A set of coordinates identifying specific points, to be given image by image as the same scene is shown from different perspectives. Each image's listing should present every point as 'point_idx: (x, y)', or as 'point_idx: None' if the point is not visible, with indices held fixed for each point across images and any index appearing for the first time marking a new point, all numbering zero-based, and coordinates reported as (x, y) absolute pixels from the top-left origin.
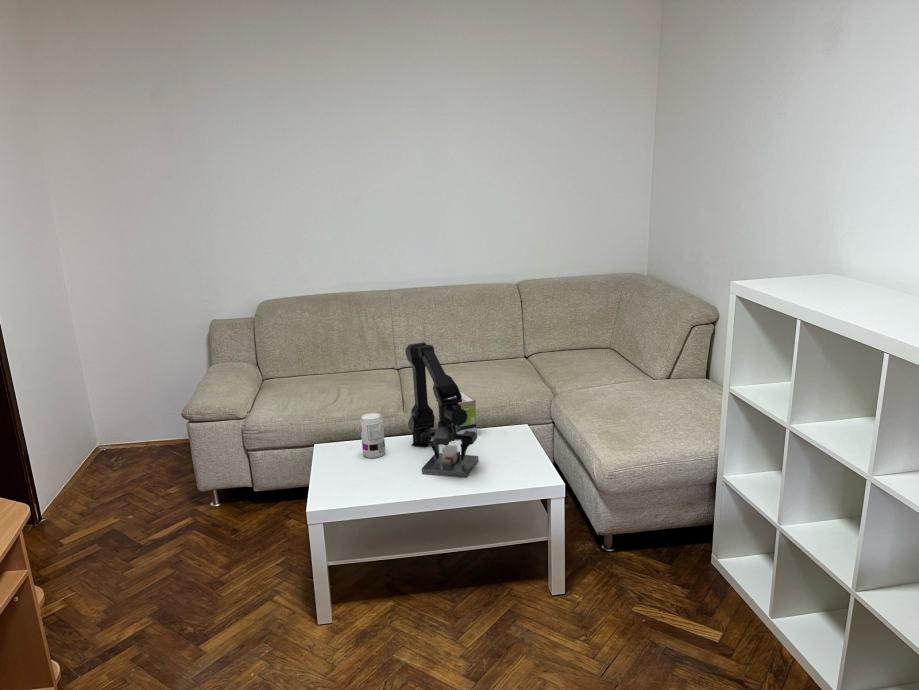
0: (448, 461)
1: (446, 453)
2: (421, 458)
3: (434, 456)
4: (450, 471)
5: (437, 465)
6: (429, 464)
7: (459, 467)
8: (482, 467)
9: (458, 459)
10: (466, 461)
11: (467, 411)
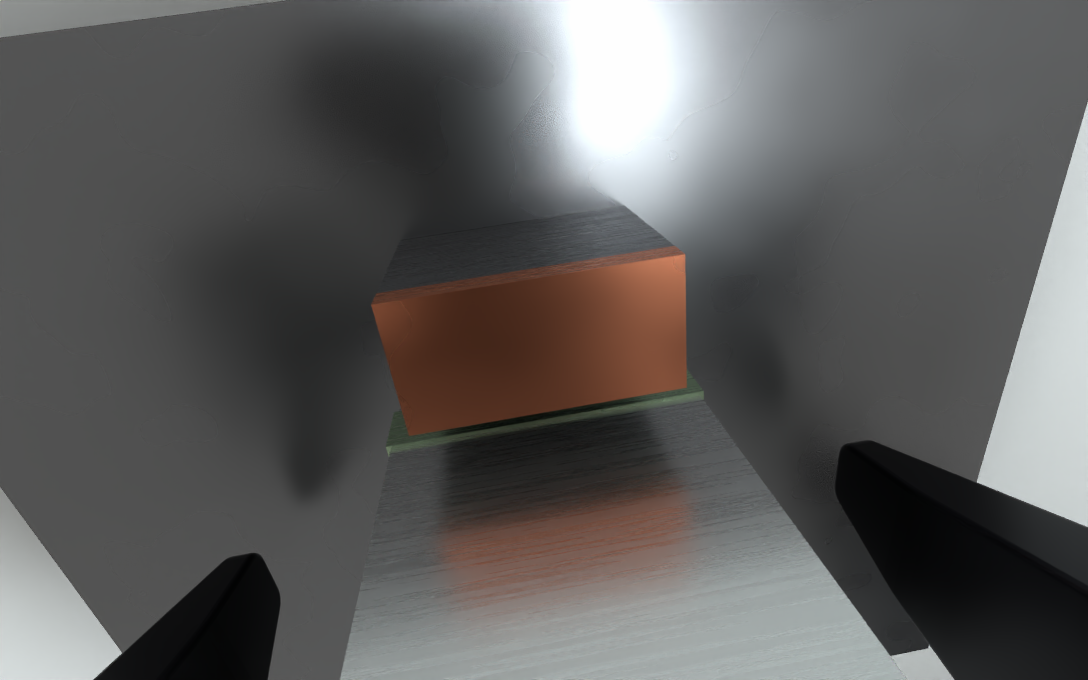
0: (435, 287)
1: (645, 588)
2: (1067, 502)
3: None
4: (260, 7)
5: (767, 238)
6: (966, 223)
7: (181, 316)
8: (38, 585)
9: None
10: None
11: None
